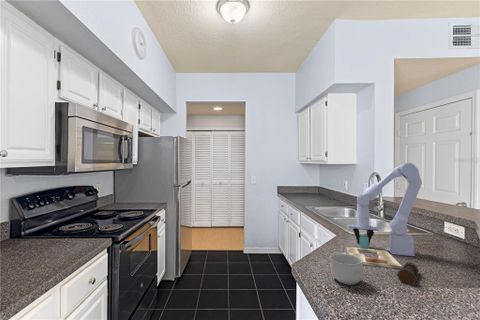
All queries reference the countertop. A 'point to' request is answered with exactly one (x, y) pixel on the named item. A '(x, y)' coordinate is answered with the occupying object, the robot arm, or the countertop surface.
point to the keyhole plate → (381, 261)
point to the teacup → (346, 268)
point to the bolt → (408, 274)
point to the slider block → (363, 241)
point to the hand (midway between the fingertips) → (363, 244)
